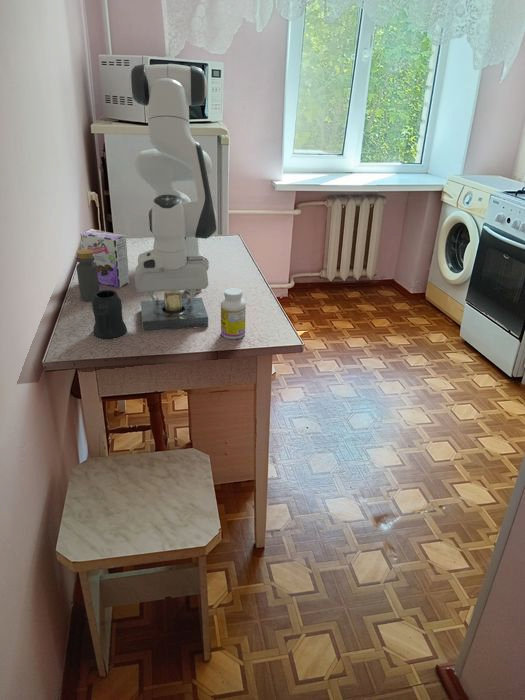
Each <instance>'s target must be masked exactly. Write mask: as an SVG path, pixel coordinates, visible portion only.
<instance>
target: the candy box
mask: <svg viewBox="0 0 525 700" xmlns="http://www.w3.org/2000/svg"><path fill="white" fill-rule="evenodd" d="M126 237H127V236H126V234H119V233H113V232H108V231H104V230H99V229H94V228H91V229H88V230H85V231H81V232H80V239H81V246H82V249H90V250H92V251H93V256H94V261H93V263H95V264H96V266H97V273H98V281H99V285H104V286H109V287H113V288H117V289H120V288H123V287H125V286H127V285H128V284H130V283H131V282H130V271H129V260H128V249H127V248H128V247H127V238H126Z"/></svg>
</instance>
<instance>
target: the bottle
mask: <svg viewBox="0 0 525 700" xmlns="http://www.w3.org/2000/svg"><path fill="white" fill-rule="evenodd" d="M75 253H76V255H77V256H76V262H77V265H76V267H75V269H76V273H77V280H78V289H79V295H80V300H81V301H83V302H89V303H90V302H92V301H93V299H94V296H95V293H96V292H98V291H101V290H100V289H101V288H100V283H99V281H98V273H97V266H96V264H95V263H93V261H94V256H93V251H92V250H90V249H83V248H82V249H78V250H77V251H76V252H75Z"/></svg>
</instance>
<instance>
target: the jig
mask: <svg viewBox="0 0 525 700" xmlns="http://www.w3.org/2000/svg"><path fill="white" fill-rule="evenodd" d="M181 299H182V312H180V313H177V314H169V313H165V301H164V299H159V305H158V306H154V301H153V300H141V301H140V308H141V309H140V310H141V322H142V332H153V331H167V330H179V329H180V330H181V329H195V328H209V316H208V313H207V309H206V306H205V303H204V300H203V298H202V297H193V298H192V300H193V303H189V304H187V297H186V298H181Z"/></svg>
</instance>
